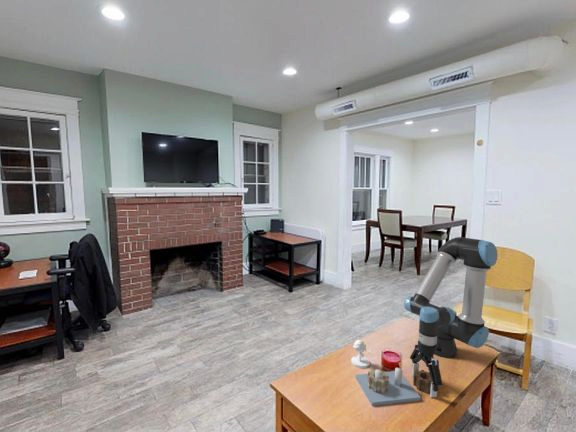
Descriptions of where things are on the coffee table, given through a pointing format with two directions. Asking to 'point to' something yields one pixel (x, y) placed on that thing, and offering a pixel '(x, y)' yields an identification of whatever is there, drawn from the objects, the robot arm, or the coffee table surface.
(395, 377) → the gear board
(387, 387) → the gear
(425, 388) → the walnut gear
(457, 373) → the coffee table surface
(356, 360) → the figurine
